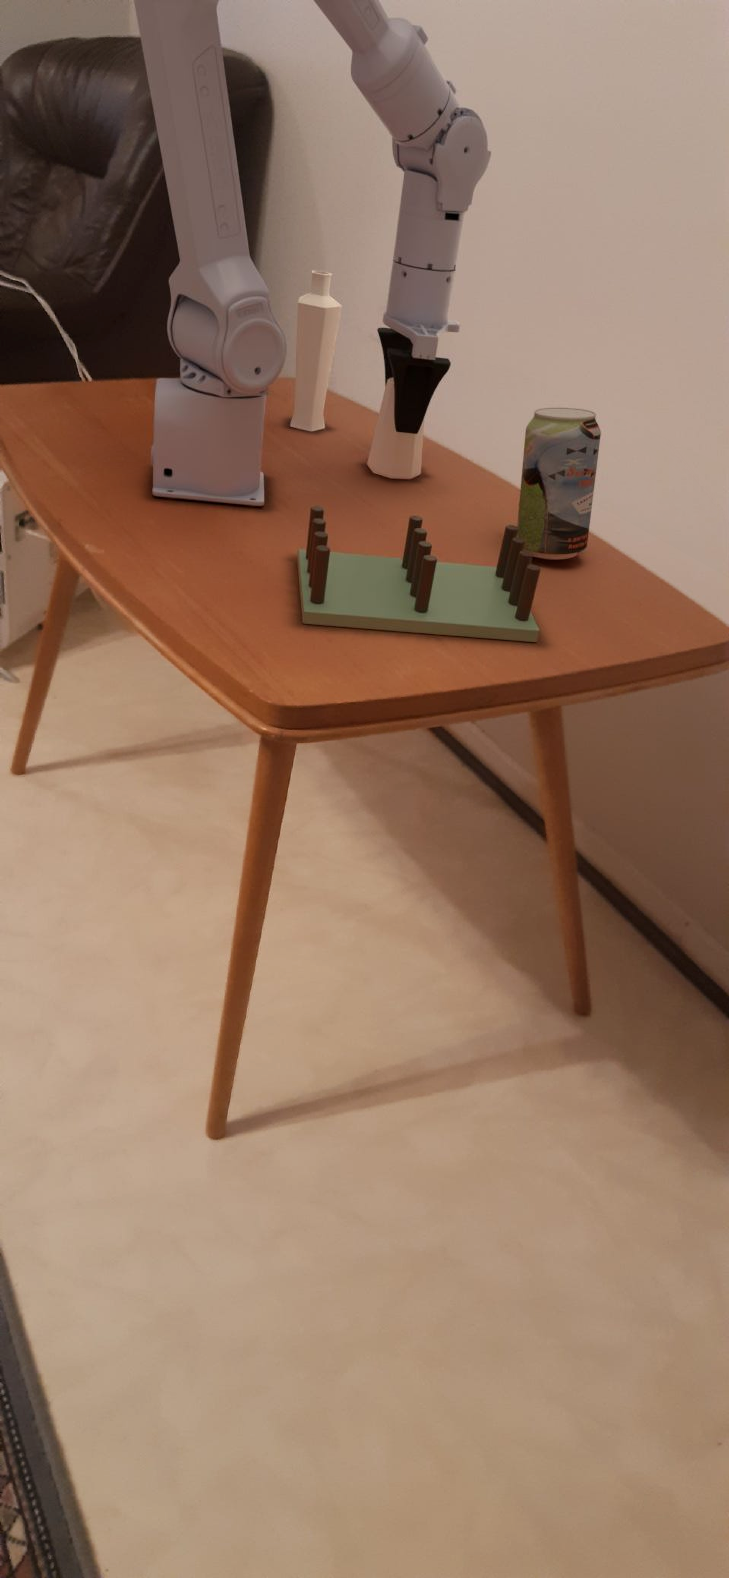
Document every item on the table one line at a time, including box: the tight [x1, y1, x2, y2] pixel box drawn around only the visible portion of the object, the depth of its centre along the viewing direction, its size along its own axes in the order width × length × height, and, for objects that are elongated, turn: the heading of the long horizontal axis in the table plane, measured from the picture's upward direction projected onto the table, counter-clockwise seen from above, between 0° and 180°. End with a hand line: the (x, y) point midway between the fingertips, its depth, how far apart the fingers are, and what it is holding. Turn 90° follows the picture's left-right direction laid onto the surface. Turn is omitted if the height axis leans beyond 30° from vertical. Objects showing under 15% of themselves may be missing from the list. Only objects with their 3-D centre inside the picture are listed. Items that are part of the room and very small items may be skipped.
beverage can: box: [516, 407, 602, 560], centre depth 85 cm, size 6×7×12 cm
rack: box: [296, 505, 541, 643], centre depth 76 cm, size 17×11×5 cm, turn 95°
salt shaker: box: [366, 377, 425, 480], centre depth 99 cm, size 5×5×11 cm
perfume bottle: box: [289, 269, 343, 432], centre depth 106 cm, size 5×4×15 cm
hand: (401, 420), depth 99 cm, fingers open, 7 cm apart
